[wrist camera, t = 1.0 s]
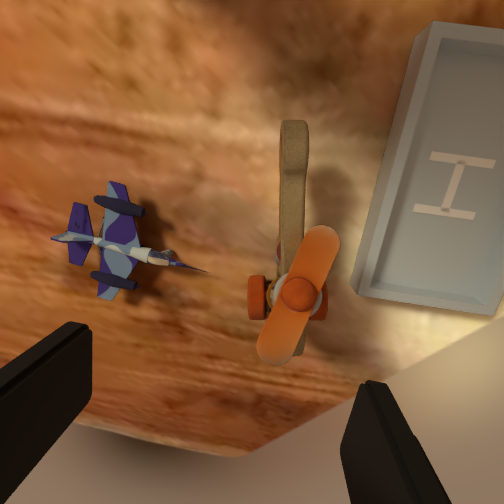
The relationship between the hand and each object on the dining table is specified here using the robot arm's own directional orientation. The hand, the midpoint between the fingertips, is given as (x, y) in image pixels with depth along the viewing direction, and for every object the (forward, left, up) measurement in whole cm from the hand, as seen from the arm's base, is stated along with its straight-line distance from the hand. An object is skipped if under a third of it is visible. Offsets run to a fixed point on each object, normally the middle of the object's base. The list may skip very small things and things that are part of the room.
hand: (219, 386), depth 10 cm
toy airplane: (+3, -14, -23) cm, 27 cm away
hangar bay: (-8, +18, -23) cm, 30 cm away
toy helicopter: (0, +3, -23) cm, 23 cm away
